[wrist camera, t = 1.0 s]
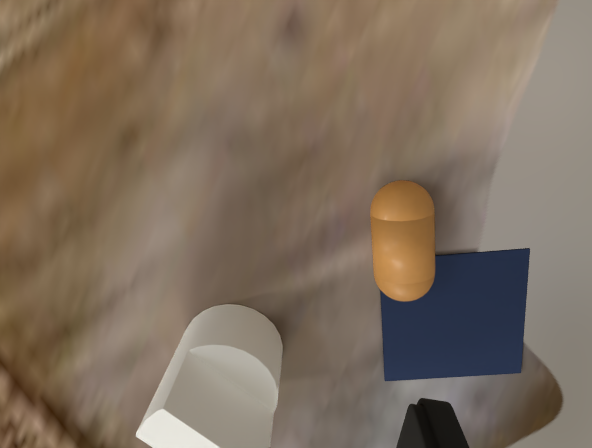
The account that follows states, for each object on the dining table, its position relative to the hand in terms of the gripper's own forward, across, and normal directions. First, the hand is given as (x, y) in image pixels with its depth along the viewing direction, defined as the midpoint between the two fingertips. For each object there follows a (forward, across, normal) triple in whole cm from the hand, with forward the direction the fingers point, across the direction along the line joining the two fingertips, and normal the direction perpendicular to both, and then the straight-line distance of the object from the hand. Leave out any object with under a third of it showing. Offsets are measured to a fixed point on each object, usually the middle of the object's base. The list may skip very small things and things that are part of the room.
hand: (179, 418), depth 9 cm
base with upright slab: (+28, +2, +17) cm, 33 cm away
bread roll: (+27, -10, +4) cm, 29 cm away
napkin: (+27, -17, +11) cm, 34 cm away
